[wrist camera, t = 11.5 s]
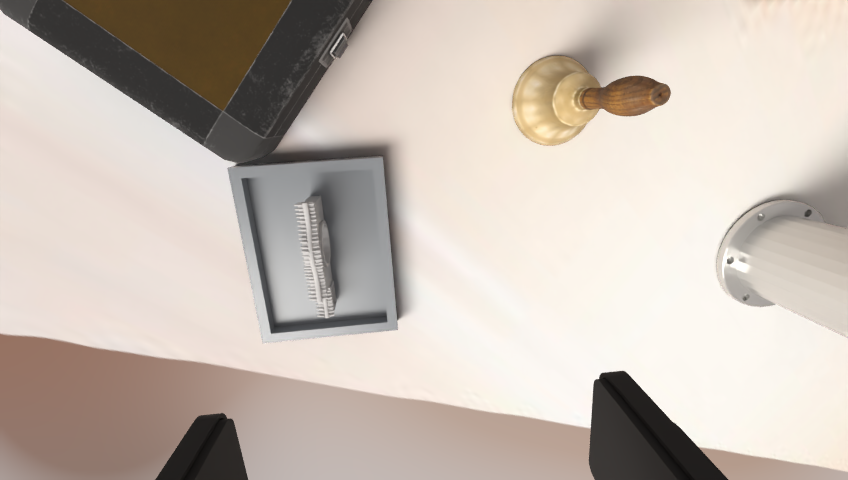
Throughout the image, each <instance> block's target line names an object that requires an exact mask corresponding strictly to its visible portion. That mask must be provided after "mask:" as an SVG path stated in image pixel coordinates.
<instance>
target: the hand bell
mask: <svg viewBox="0 0 848 480" xmlns="http://www.w3.org/2000/svg"><path fill="white" fill-rule="evenodd" d="M670 94H671V91H670V88H669V87H668V85H666V84H663V83H659V82H657V81H655V80H654V79H651V78H648V77H644V76H629V77H625V78H621V79H618V80H616V81H613V82H612V83H610V84H609V85H607V86H606V87H604V88H601V86H600V84H599V82H598V81H597V80H596V78H595V77H593V76H592V75H590V74H589V73H588V72H587V70H586V69H585V68H584V67H583V66H582V65H581V64H580V63H578V62H577V61H575V60H574V59H572V58H569V57H565V56H549V57H545V58H543V59H540V60H538V61H536V62H535V63H533V64H532V65H531V66H530V67H529V68H527V70H526V71H525V72H524V73H523V74H522V76H521V77H520V78H519V80H518V82H517V84H516V87H515V90H514V94H513V101H512V110H513V116H514V119H515V122H516V124H517V126H518V128H519V129H520V131H521V132H522V133H523V134H524V135H525V136H526V137H527V138H528V139H530V140H531V141H533V142H535V143H538V144H541V145H552V146H553V145H559V144H562V143H565V142H567V141H569V140H571V139H572V138H574V137H575V136H576V135H578V134H579V133H580V132H581V131H582V129H583V128H584V127H585V126H586V124H587V122H589V121H590V120H591V119H593V118H594V117H595V115H596V114H597V112H598V111H599V109H601V108H602V109H605V110H606V111H607V112H609V113H612V114H615V115H619V116H637V115H641V114H644V113H646V112H648V111H650V110H652V109H653V108H655V107H658V106H661V105H663V104H665V103H666V102H667V101H668V100H669V97H670Z"/></svg>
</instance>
